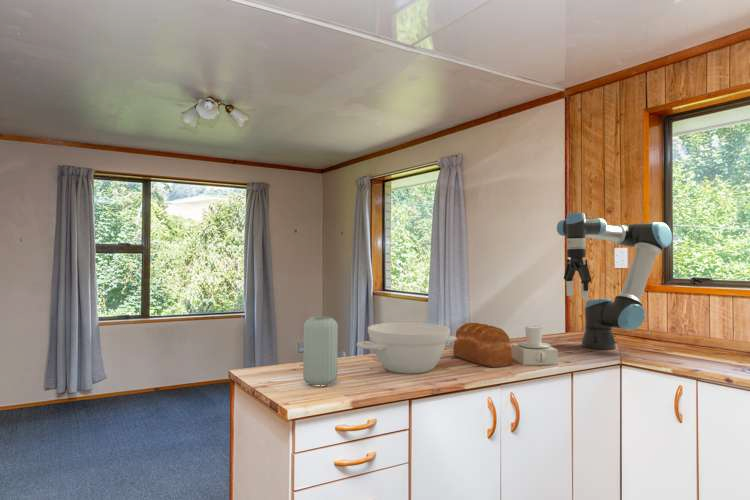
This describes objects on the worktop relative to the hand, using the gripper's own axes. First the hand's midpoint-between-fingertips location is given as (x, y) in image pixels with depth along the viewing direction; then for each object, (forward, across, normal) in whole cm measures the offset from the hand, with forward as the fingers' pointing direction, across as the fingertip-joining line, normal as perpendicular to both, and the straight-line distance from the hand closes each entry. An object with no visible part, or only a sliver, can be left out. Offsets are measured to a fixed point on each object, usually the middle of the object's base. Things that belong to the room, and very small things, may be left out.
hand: (577, 297), depth 214 cm
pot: (+24, +19, -77) cm, 83 cm away
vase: (+23, +40, -110) cm, 119 cm away
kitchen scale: (+25, +8, -23) cm, 35 cm away
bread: (+25, +6, -44) cm, 51 cm away
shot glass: (+18, +8, -23) cm, 30 cm away
